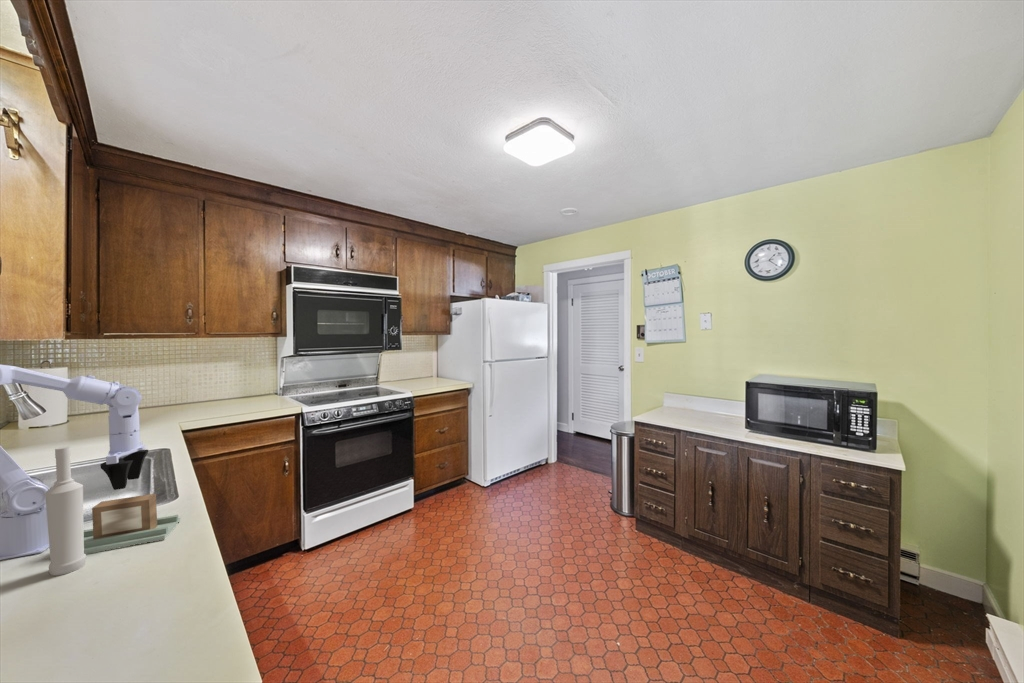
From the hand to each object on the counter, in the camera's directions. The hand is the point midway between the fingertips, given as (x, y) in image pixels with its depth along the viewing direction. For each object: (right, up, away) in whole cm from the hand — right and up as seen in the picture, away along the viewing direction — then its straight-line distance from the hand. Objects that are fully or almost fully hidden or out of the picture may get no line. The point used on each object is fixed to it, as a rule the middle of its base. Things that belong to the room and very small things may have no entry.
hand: (126, 483), depth 104 cm
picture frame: (+10, -8, -10) cm, 16 cm away
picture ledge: (+9, -9, -10) cm, 17 cm away
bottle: (+9, -10, -22) cm, 26 cm away
